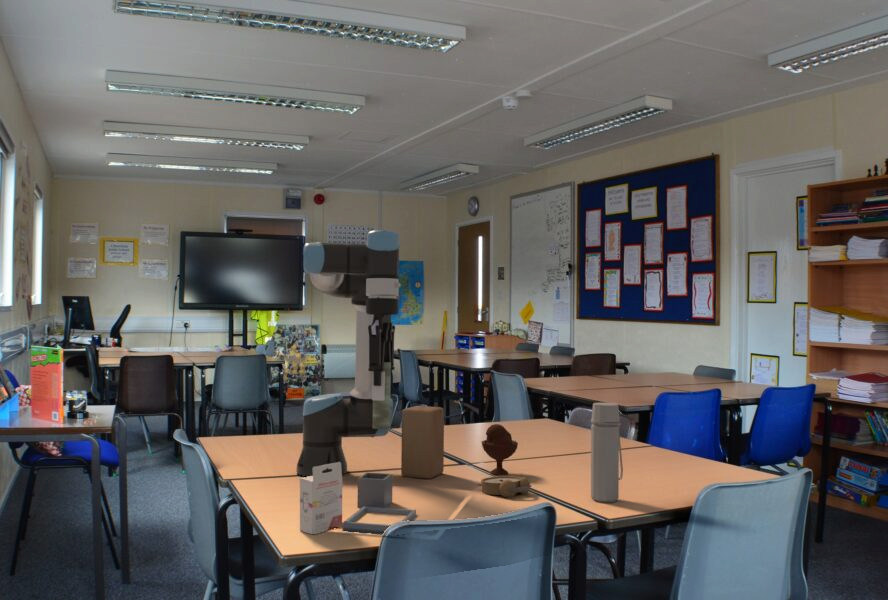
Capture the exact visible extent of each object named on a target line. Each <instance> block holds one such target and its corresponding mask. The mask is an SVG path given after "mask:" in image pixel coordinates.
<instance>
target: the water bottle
mask: <svg viewBox="0 0 888 600" xmlns="http://www.w3.org/2000/svg"><path fill="white" fill-rule="evenodd" d="M591 408H592V410H591V411H592V412H591V419H590V422H591V425H590V497H591V499H592V500H593V501H595V502H599V503H614V502H616V501H617V500H618V499H619V497H620V496H619V489H620V488H619V485H620V484H619V481H621V480H622V479H623V474H624V467H623V457H622V456H623V455H622V446H621V436H620V435H621V434H620V432H621V431H620V427H621V426H622V423H621V422H620V421H621V419H620V409H619V404H618V403H614V402H593V403H592V407H591ZM619 463H620V464H619ZM619 465H620V466H619ZM619 469H620V470H619ZM619 471H620V472H619ZM619 473H620V475H619Z"/></svg>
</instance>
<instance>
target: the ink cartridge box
mask: <svg viewBox="0 0 888 600" xmlns="http://www.w3.org/2000/svg"><path fill="white" fill-rule="evenodd" d="M326 468H328V469H332V471H331V472H327V473H322V471H323V470H326ZM312 470H313V476H309V477H304V476H303V477H300V478H299V531H300V532H302V531H303V533H306V534H308V535H312V534H315V535H318V534H321V533H320V532H322V533H325V532H328V531H327V530H329V531H332V530H331V529H333V530H335V529H334V528H336V529H339V528H338V527H339V526H337V525H340V524H343V475H342V469H341V462H337V463H331V464H326V465H321V466H316V467H313V469H312ZM324 531H325V532H324ZM317 533H318V534H317Z"/></svg>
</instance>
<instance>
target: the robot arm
mask: <svg viewBox="0 0 888 600" xmlns="http://www.w3.org/2000/svg"><path fill="white" fill-rule="evenodd" d="M400 248H401V245H400V236H399V234H398V232H397V231H395V230H389V229H388V230H384V229H382V230H381V229H380V230H379V229H377V230H371V231H369V232H368V233H367V235H366V243H340V242H339V243H338V242H337V243H335V242H333V243H332V242H320V241H317V242H306V243H305V244H304V246H303V271H304V273H305V274H309V279H310V282H311V284H312V286H313V287H314V289H316V290H317V291H319V292H321V293H322V294H325V295H327V296H329V297H330V296H331V297H334V298H341V299H343V298H345V299H351V302H350V304H351V305H352V307H354V309H355V310H356V311H355V312H356V313H355V314H356V315H355V365H354V366H355V367H354V368H355V370H354V372H355V373H354V388H353V389H352V390H351V391H350V392H349V397H348V398H344V397H343V394H342V393H328V394H320V395H315V396H311V397H309V398H307V399H305V400H304V402H303V410H302V417H303V418H302V423H303V424H302V426H303V427H302V449H301V452H300V454H299V457H298V461H297V462H296V463H297V464H296V467H295V468H296V470H295V471H296V472H297V473H296V475H298V474H299V475H298V476H300V475H302V476H301V477H304V476H313V470H312V469H313V467H316V466H321V465H326V464H331V463H337V462H341V469H342V476H343V475H346V474H347V473H348V463H347V459H346V457H345V453H344V449H343V444H342V443H343V441H342V440H343V438H372V439H373V438H378V437H384V436H386V435H387V434H388V433H389V431H390V429H391V427H390V428H389V429H373V400H378V401H384V400H385V372H383V367H384V362H391V371H394V370H395V366H394V364H395V363H394V362H395V333H396V325H394V324H393V322H392V317H391V316H393V315H394V316H395V315H398V314H399V311H400V310H399V308H400V307H399V304H400V303H399V302H400V301H399V299H398V298H397V297H398V296H399V295H400V294H399V288H401V286H402V284H401V283H400V282H399V281H400V280H399V279H400V277H399V271H400V269H399V268H400V266H399V265H400ZM390 391H391V389H390ZM393 401H394V400H393V398H391V397H390V426H391V423H392V418H393V409H394V407H393V406H394V402H393ZM331 471H332V469H328V468H326V470H323V471H322V473H327V472H331Z"/></svg>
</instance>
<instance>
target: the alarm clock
mask: <svg viewBox="0 0 888 600" xmlns="http://www.w3.org/2000/svg"><path fill="white" fill-rule="evenodd" d="M480 482H481V483H478V484H477V486H478V487H481V493H482V494H486V495H494V496H495V495H496V496H502V497H503V498H506V499H507V498H508V499H510V498H512V497H514V496H516V494H519V493H520V494H521V495H523V496H524V495H527V494H528V493H529V492H530V490H531V488H532V484H530V480H529V479H528V478H527V477H525V476H522V477H520V476H519V477H518V476H513V475H512V476H511V475H508V476H507V475H496V476H490V477H489V476H488V477H485V478H481V480H480Z"/></svg>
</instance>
